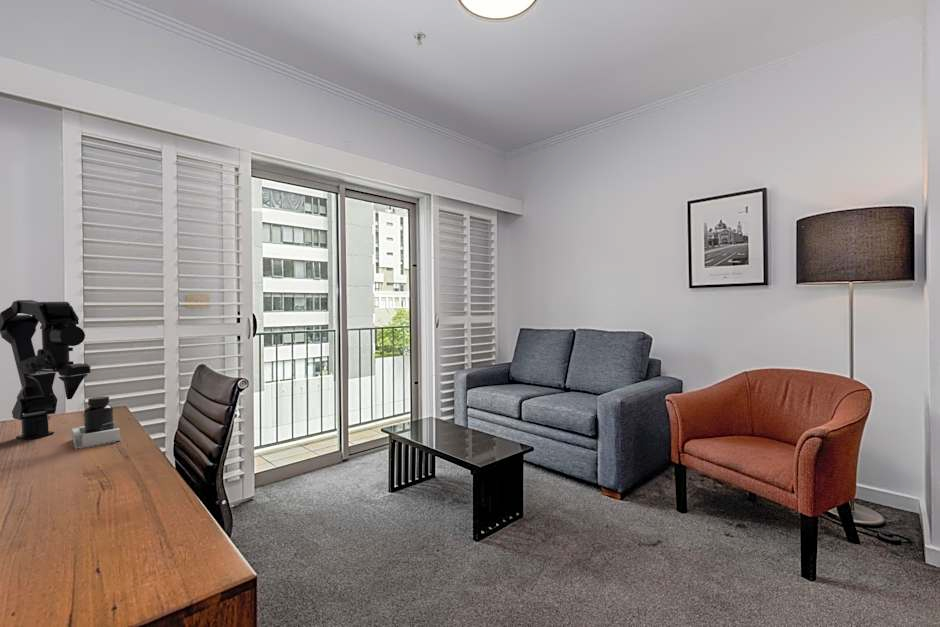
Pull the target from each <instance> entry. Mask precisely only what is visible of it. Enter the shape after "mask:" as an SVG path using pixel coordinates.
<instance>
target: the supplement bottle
mask: <svg viewBox="0 0 940 627" xmlns="http://www.w3.org/2000/svg"><path fill="white" fill-rule="evenodd" d="M87 401H88V403H87V405H88V407H87V408H85V410H84V411H83V421H84V422H83V423H84V425H83V426H84V431H85V434H86V433H93V432H99V431H105V430H111V429H114V422H115V419H114V418H115V414H114V407H113V406H112V405H110V404H109V403H110V397H109V396H107V395H106V396H105V395H104V396H101V395H100V396H93V397H89V398H88V400H87Z"/></svg>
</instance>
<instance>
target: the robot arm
mask: <svg viewBox="0 0 940 627" xmlns="http://www.w3.org/2000/svg"><path fill="white" fill-rule="evenodd" d="M19 314H20V315H19ZM79 320H80V318H79V317H78V315H77V313H76V312H75V310H74V308H73V306H72V305H71V303H70V302H69V301H36V300H33V299H24V300H23V299H22V300H21V299H17V300H14V301H13V302H12V303H11V306H9V307H8V308H6V309H4V310H3V311H1V312H0V336H1V338H2V339H3V340H4V341H5V342H7V343H8V344H10V347H11V350H12V353H13V357H14V361H15V366H16V368H17V373H18V376H19V382H20V384H21V385H20V386H21V389H20V391H19V392H18V394H17V396H16V402H15V405H14V407H13V409H12V410H11V414H12V418H13V419H15V420H18V421H21V434H20V435H16V436H15V439H24V440H33V439H37V438H42V437H45V436H50V435H53V434H55V432H54V431H49V430H50V429H49V428H50V427H49V416H48V415H55V414H56V411H57V405H58V398H57V396H56V394H55V393H54V389H53V387H54V386H53V385H54V381H55V378H56V374H57V373H58V375H59V376H58V379H60V380H61V381H62V382H63V384H64V391H65V392H64V393H65V397H66V400H72V399H73V398H74V396H75V394H76V393H77V390H78V388H80V385H81V384H82V382H83V380H84V379H85V377H87V376H88V374H91V365H90V364H88V363H82V362H81V363H74V361H70V352H73V351H74V347H76V346H78V345H80V344H81V343H83V342H84V340H85V338H86V333H85V331H84V330H83V329H82V328H81V327H80V326H77V325H79V324H80V321H79ZM39 323H40V327H39V329H40V330H41V347H42V348H39V349H38V350H37V352H35V348H34V345H33V340H32V338H33V337H34V335H35V333H36V331H37V326H38V324H39ZM36 353H37V354H36Z"/></svg>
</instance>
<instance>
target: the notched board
mask: <svg viewBox="0 0 940 627" xmlns="http://www.w3.org/2000/svg"><path fill="white" fill-rule="evenodd" d="M71 440H73V441H72V444H73V443H74V444H73V447H74V446H75V447H74V448H75V450H78V449H77V448H80V449H85V448H84V447H86V448H91V447H95V445H97V446H101V444H102V445H107V444H106V443H108V444H112V443H111V442H114V443H117V442H116V441H119V442H121V428H119V427H118V428H116V422H115V421H114V429H111V430H105V431H99V432H93V433H86V434H85V431H84V425H83V426H78V427H77V426H76V427H72V428H71ZM90 446H91V447H90Z"/></svg>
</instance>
